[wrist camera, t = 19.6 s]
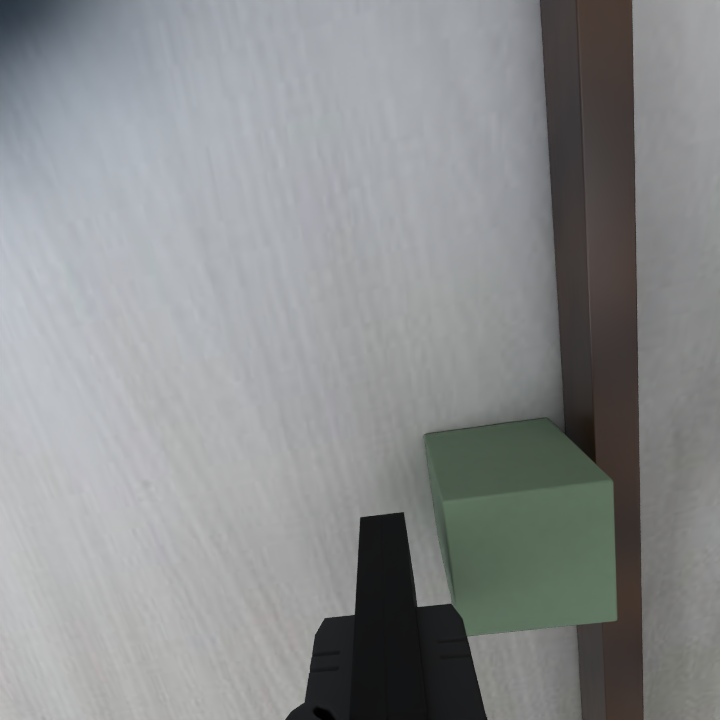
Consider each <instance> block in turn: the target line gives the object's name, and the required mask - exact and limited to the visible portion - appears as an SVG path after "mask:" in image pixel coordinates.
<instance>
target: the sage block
mask: <svg viewBox="0 0 720 720" xmlns="http://www.w3.org/2000/svg"><path fill="white" fill-rule="evenodd" d="M424 440H425V447H426V455H427V462H428V469H429V476H430V483H431V490H432V498H433V505H434V512H435V519H436V526H437V533H438V540H439V545H440V549H441V554H442V558H443V563H444V567H445V572H446V577H447V581H448V586H449V590H450V595H451V600H452V604H453V607H454V608H455V609H456V611H457V612H458V613H459V614H460V616H461V617H462V618H463V622H464V626H465V630H466V635H467V636H474V635H484V634H494V633H503V632H513V631H523V630H533V629H542V628H552V627H562V626H572V625H582V624H591V623H601V622H611V621H616V620H617V591H616V558H615V524H614V491H613V481H612V479H611V478H610V477H609V476H608V475H607V474H606V473H605V472H604V471H602V470H601V469H600V468H599V467H598V466H597V465H596V464H595V463H594V462H593V461H592V460H591V459H590V458H589V457H588V456H587V455H586V454H585V453H584V452H583V451H582V450H581V449H580V448H579V447H578V446H576V445H575V444H574V443H573V442H572V441H571V440H570V439H569V438H568V437H567V436H566V435H565V434H564V433H563V432H562V431H561V430H560V429H559V428H558V427H557V426H556V425H555V424H554V423H553V422H552V421H551V420H549V419H548V418H541V419H534V420H527V421H519V422H512V423H505V424H497V425H490V426H483V427H476V428H468V429H461V430H454V431H446V432H439V433H432V434H425V435H424Z"/></svg>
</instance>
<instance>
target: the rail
mask: <svg viewBox="0 0 720 720" xmlns="http://www.w3.org/2000/svg"><path fill="white" fill-rule="evenodd" d="M540 3H541V20H542V37H543V54H544V71H545V88H546V105H547V122H548V139H549V156H550V174H551V191H552V208H553V225H554V242H555V259H556V276H557V293H558V310H559V327H560V344H561V361H562V378H563V395H564V412H565V429H566V436H567V437H568V438H569V439H570V440H571V441H572V442H573V443H574V444H575V445H576V446H578V447H579V448H580V449H581V450H582V451H583V452H584V453H585V454H586V455H587V456H588V457H589V458H590V459H591V460H592V461H593V462H594V463H595V464H596V465H597V466H598V467H599V468H600V469H601V470H602V471H604V472H605V473H606V474H607V475H608V476H609V477H610V478H611V479H612V481H613V491H614V524H615V558H616V591H617V620H616V621H611V622H601V623H591V624H582V625H577V633H578V650H579V667H580V684H581V701H582V718H583V720H643V657H642V594H641V530H640V467H639V404H638V341H637V278H636V215H635V152H634V88H633V25H632V0H540Z"/></svg>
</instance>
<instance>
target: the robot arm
mask: <svg viewBox="0 0 720 720" xmlns="http://www.w3.org/2000/svg"><path fill="white" fill-rule="evenodd" d="M285 720H487V717H486V714H485V710H484V706H483V702H482V697H481V693H480V689H479V685H478V681H477V676H476V672H475V668H474V664H473V660H472V656H471V651H470V647H469V643H468V639H467V635H466V630H465V626H464V622H463V618H462V617H461V616H460V614H459V613H458V612H457V611H456V609H455V608H454V607H453V605H452V604H445V605H435V606H425V607H417V600H416V592H415V583H414V576H413V569H412V563H411V556H410V550H409V543H408V537H407V530H406V523H405V517H404V512H401V513H393V514H385V515H376V516H368V517H360V532H359V550H358V568H357V586H356V604H355V615H351V616H342V617H332V618H325V619H324V621H323V622H322V624H321V626H320V628H319V629H318V631H317V633H316V634H315V639H314V646H313V652H312V659H311V665H310V673H309V678H308V684H307V691H306V697H305V703H303V704H302V705H300V706H299V707H297V708H296V709H294V710H293V711H292V712H291V713H290V714H289V715H288V717H287V718H286V719H285Z"/></svg>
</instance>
